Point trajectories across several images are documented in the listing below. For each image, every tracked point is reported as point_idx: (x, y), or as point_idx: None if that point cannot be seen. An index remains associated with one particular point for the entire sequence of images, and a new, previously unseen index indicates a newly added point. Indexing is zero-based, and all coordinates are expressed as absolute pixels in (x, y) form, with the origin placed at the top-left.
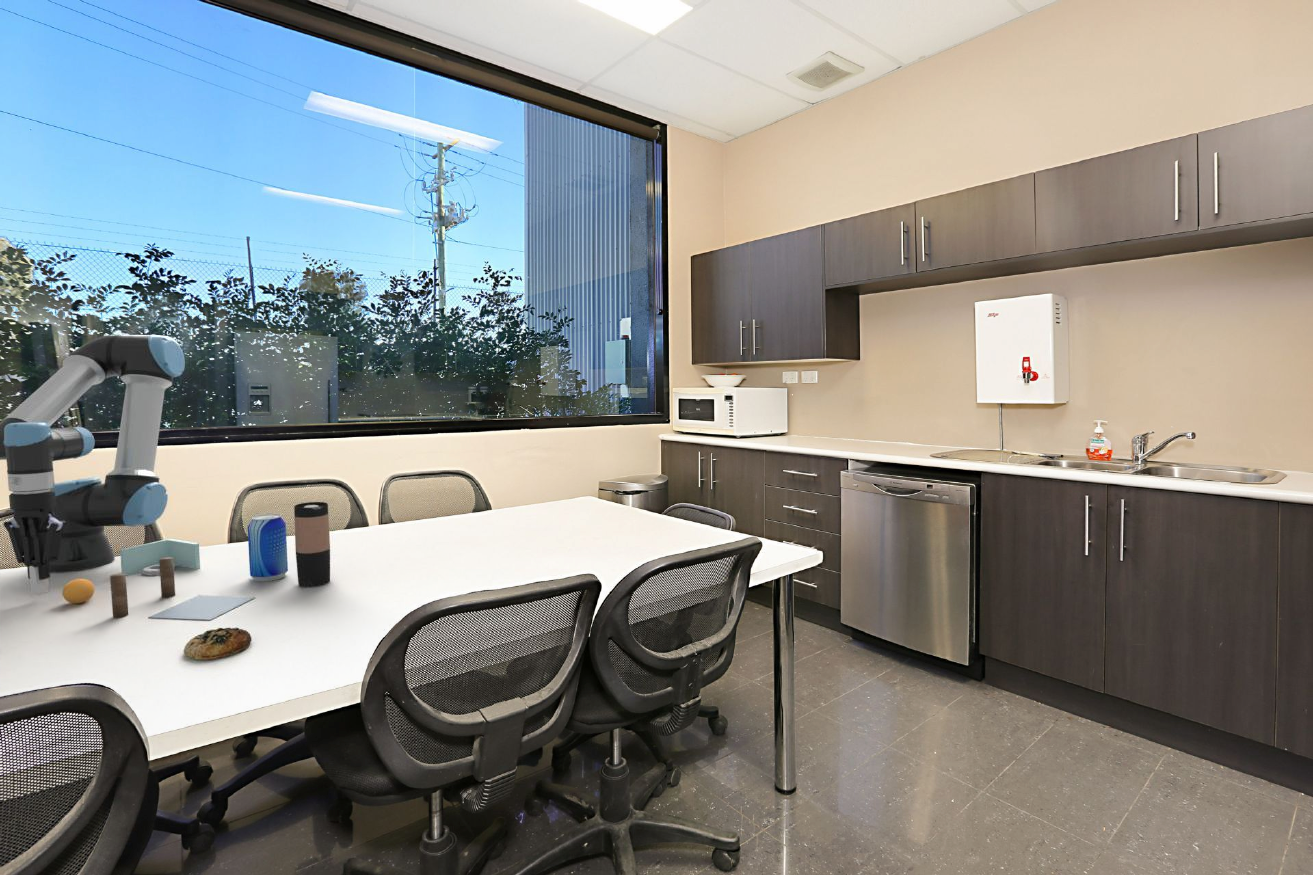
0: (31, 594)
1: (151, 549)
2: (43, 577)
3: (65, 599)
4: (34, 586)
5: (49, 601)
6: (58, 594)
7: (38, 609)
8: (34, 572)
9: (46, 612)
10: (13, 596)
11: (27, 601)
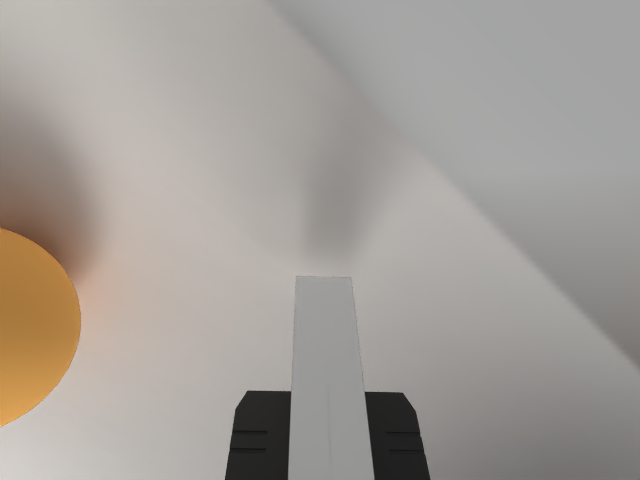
0: (348, 277)
1: None
2: (236, 408)
3: (3, 230)
4: (317, 325)
5: (262, 277)
6: None
7: (161, 126)
8: (305, 445)
9: (12, 64)
10: (593, 337)
11: (417, 268)
